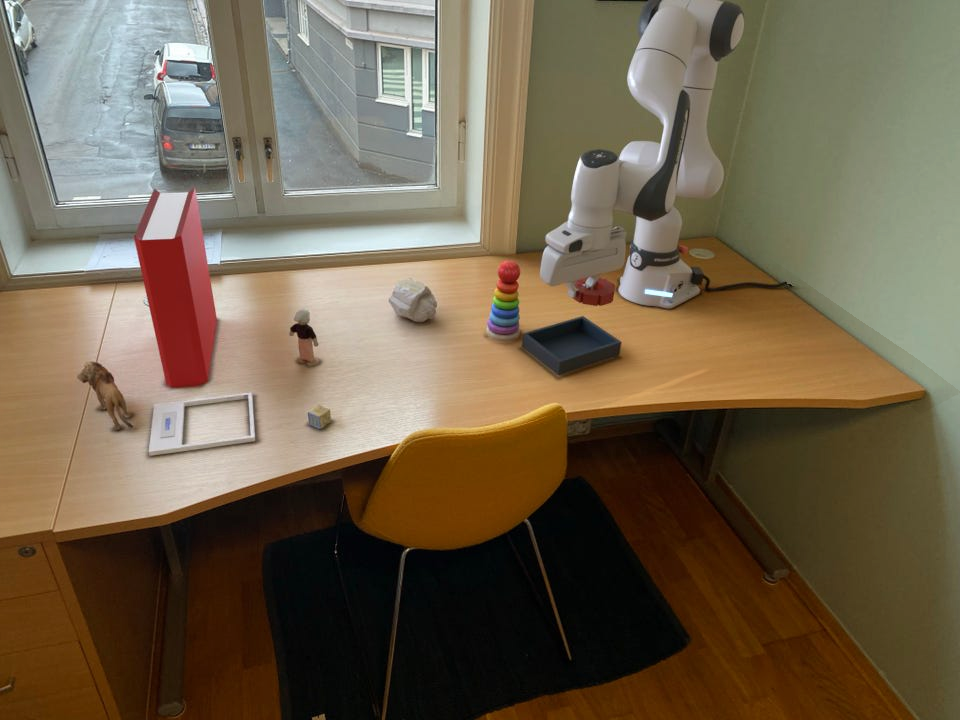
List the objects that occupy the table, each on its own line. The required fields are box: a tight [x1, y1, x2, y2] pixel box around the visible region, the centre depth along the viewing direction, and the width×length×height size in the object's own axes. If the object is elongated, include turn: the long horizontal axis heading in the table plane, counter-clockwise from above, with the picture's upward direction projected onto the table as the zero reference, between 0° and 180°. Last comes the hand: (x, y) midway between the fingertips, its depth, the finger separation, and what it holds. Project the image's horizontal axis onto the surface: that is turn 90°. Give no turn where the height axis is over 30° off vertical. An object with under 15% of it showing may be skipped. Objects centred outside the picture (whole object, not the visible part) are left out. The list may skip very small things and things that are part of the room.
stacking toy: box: [485, 260, 521, 342], centre depth 166 cm, size 8×8×19 cm
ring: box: [572, 276, 616, 307], centre depth 155 cm, size 9×9×2 cm
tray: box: [521, 315, 623, 376], centre depth 164 cm, size 18×14×4 cm
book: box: [133, 187, 218, 389], centre depth 149 cm, size 27×8×32 cm, turn 13°
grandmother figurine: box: [288, 307, 320, 367], centre depth 154 cm, size 8×4×13 cm, turn 71°
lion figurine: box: [76, 360, 134, 431], centre depth 136 cm, size 15×5×9 cm, turn 50°
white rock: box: [388, 277, 438, 323], centre depth 174 cm, size 12×8×10 cm
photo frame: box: [148, 391, 256, 457], centre depth 137 cm, size 15×1×18 cm
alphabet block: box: [307, 404, 332, 430], centre depth 138 cm, size 3×3×3 cm
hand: (579, 294), depth 154 cm, fingers closed on ring, 2 cm apart
